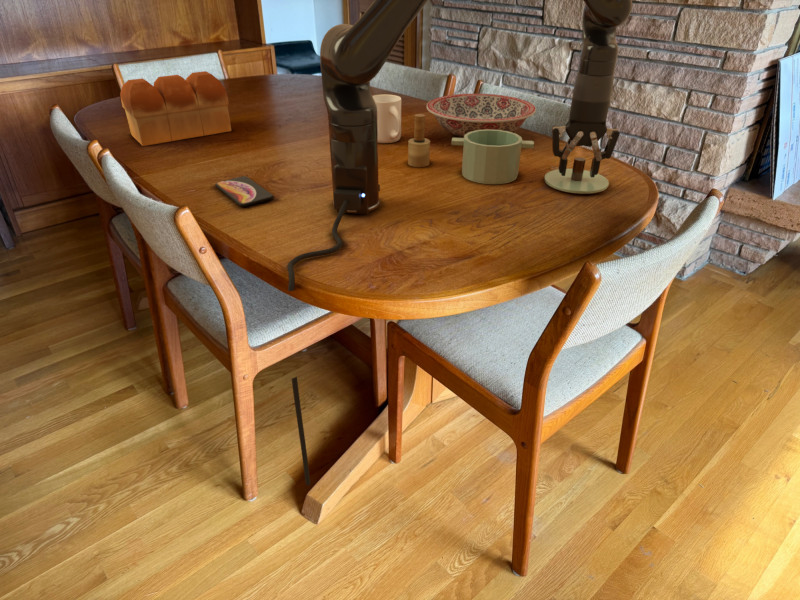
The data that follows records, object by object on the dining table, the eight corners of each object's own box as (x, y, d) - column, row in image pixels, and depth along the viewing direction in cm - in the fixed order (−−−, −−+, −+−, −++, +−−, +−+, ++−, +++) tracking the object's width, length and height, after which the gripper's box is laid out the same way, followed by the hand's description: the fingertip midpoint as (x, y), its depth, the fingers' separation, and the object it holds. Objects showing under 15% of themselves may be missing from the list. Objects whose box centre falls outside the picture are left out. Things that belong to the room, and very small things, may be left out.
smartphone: (241, 204, 114) (213, 182, 124) (241, 208, 114) (214, 186, 124) (275, 195, 117) (245, 174, 128) (275, 199, 118) (246, 178, 128)
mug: (385, 149, 147) (384, 106, 141) (363, 137, 155) (362, 96, 149) (413, 144, 150) (414, 102, 144) (391, 132, 159) (390, 92, 153)
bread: (141, 146, 148) (126, 87, 140) (129, 134, 156) (115, 78, 148) (233, 130, 160) (224, 75, 152) (217, 120, 169) (208, 67, 161)
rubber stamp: (428, 167, 135) (430, 118, 129) (406, 166, 136) (407, 117, 129) (430, 160, 139) (431, 112, 133) (409, 159, 140) (409, 111, 134)
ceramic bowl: (410, 126, 164) (410, 98, 160) (499, 117, 173) (501, 90, 168) (453, 157, 141) (454, 125, 137) (553, 145, 150) (558, 114, 145)
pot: (531, 186, 125) (536, 148, 121) (448, 182, 127) (450, 144, 123) (527, 166, 136) (532, 131, 131) (451, 163, 138) (453, 127, 133)
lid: (613, 198, 120) (619, 171, 117) (546, 194, 121) (550, 168, 118) (602, 175, 131) (607, 150, 128) (541, 172, 133) (544, 147, 130)
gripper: (557, 99, 113) (545, 180, 123) (631, 101, 112) (614, 183, 121) (553, 90, 120) (542, 168, 129) (624, 93, 118) (608, 171, 127)
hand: (577, 175), depth 125 cm, fingers open, 5 cm apart
